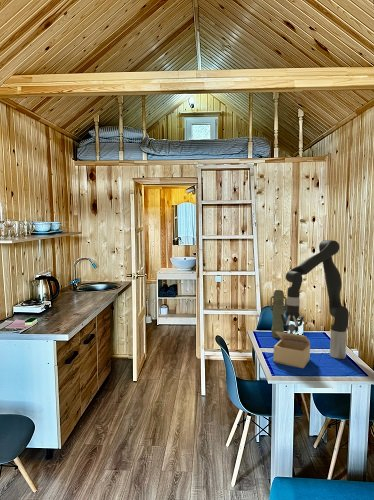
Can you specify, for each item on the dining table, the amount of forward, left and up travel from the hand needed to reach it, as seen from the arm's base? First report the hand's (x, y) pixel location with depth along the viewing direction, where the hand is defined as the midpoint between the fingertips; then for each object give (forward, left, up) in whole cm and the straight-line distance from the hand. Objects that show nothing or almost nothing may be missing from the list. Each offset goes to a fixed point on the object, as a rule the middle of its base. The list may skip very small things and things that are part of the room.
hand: (291, 331), depth 223 cm
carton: (0, -2, -19) cm, 19 cm away
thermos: (+22, -46, -19) cm, 54 cm away
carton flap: (0, -3, -5) cm, 5 cm away
